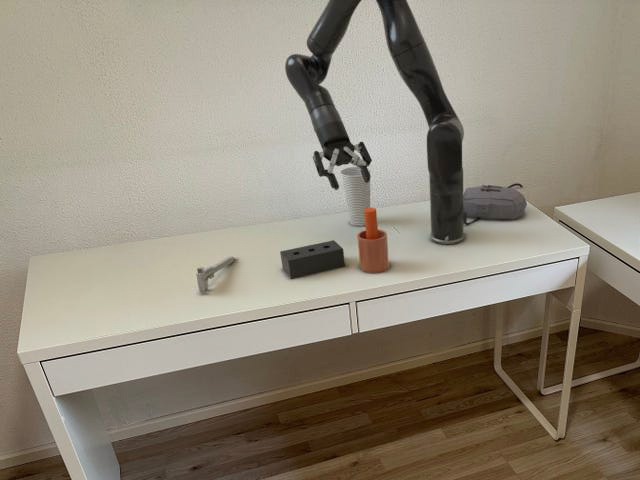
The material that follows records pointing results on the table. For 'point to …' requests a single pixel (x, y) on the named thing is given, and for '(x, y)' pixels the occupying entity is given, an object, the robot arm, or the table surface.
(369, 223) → the orange screwdriver
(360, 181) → the cup
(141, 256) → the table surface
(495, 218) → the soft grey pack
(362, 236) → the pen cup
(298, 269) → the holder
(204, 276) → the caliper
